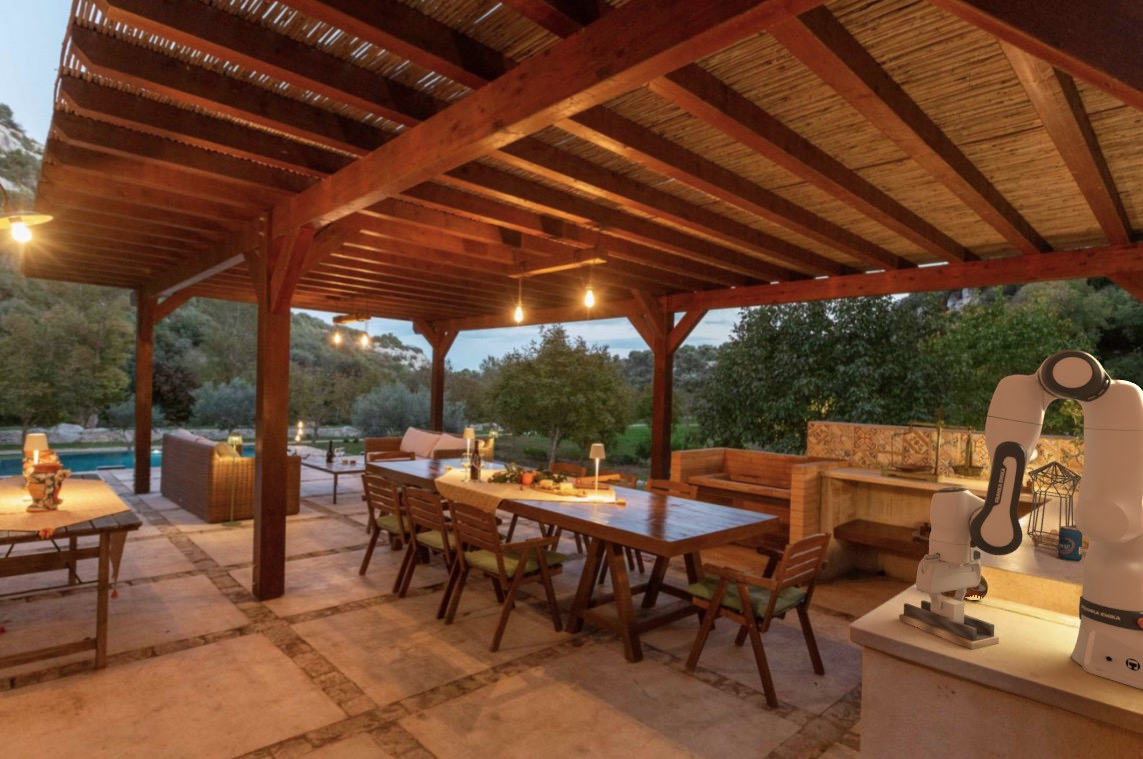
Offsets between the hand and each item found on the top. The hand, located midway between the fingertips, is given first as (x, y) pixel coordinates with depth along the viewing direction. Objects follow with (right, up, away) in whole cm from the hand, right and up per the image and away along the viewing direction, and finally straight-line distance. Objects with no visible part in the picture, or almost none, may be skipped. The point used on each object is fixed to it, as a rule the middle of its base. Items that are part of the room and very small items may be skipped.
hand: (947, 607), depth 156 cm
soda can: (+92, -11, +77) cm, 120 cm away
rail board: (0, -6, 0) cm, 6 cm away
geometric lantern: (+100, -11, +95) cm, 139 cm away
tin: (+20, -8, +28) cm, 35 cm away
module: (0, -4, 0) cm, 4 cm away
